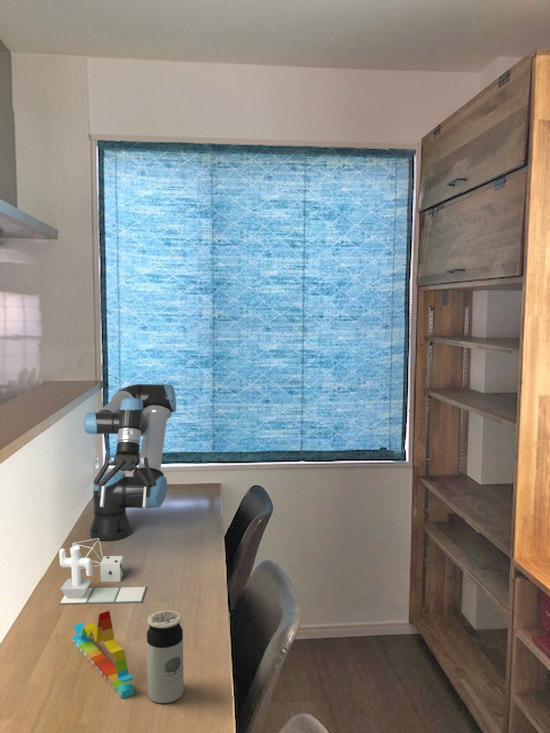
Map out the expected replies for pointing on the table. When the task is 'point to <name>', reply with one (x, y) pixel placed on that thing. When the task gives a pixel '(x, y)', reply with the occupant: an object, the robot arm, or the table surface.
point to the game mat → (108, 596)
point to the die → (111, 568)
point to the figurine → (75, 573)
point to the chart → (113, 675)
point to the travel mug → (165, 657)
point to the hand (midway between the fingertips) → (123, 507)
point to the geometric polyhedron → (90, 550)
